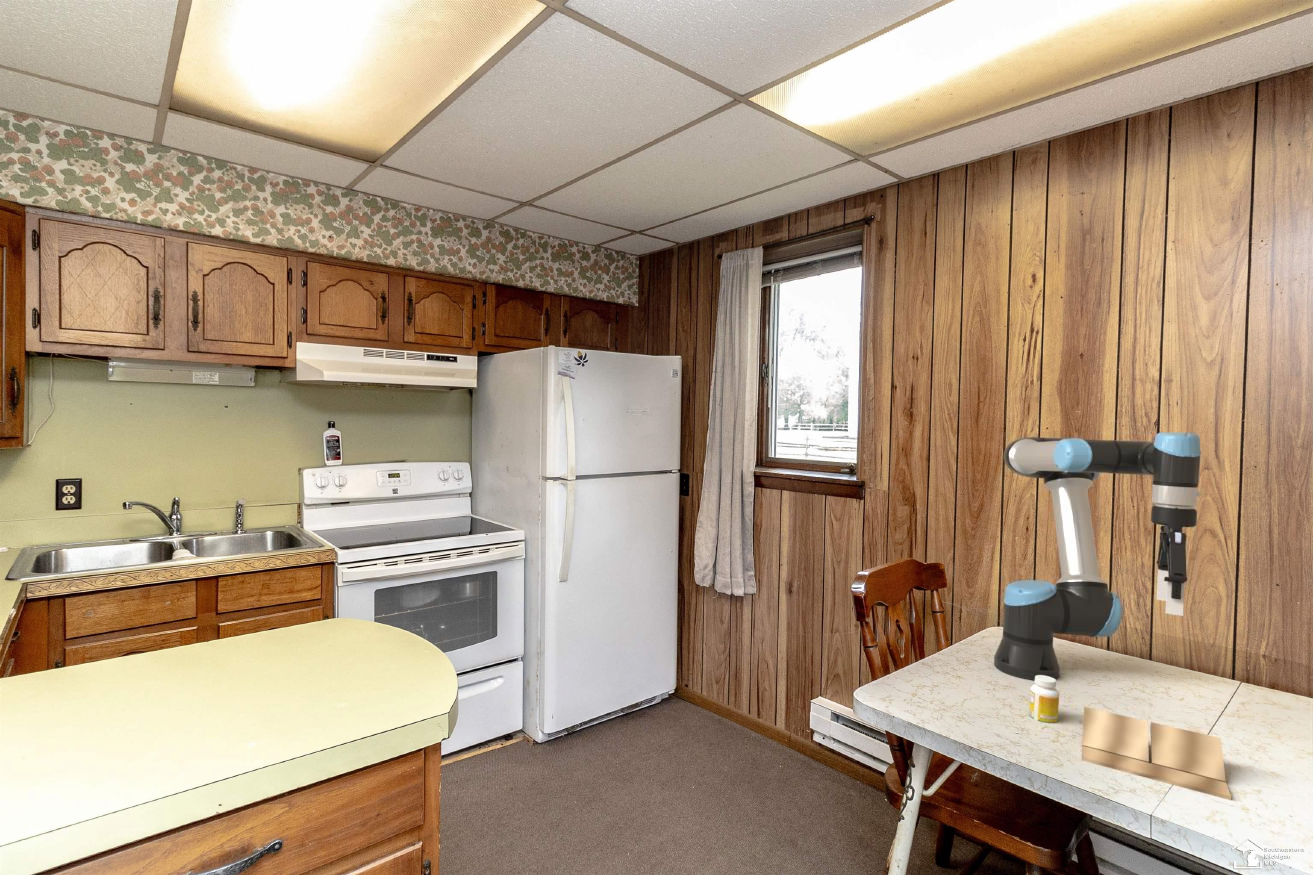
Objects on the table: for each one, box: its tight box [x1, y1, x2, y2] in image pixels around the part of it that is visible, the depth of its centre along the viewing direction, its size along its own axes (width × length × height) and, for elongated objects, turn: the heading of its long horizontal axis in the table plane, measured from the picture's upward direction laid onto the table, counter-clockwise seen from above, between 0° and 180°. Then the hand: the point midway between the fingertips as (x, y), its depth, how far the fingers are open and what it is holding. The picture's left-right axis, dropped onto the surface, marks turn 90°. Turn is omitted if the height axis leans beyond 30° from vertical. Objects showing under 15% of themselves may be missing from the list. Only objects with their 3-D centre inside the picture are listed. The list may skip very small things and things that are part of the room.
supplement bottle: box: [1028, 675, 1060, 724], centre depth 143 cm, size 5×5×10 cm
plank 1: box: [1081, 706, 1150, 763], centre depth 130 cm, size 10×9×1 cm
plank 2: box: [1149, 721, 1227, 783], centre depth 123 cm, size 10×9×1 cm
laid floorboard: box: [1081, 745, 1232, 801], centre depth 121 cm, size 22×5×1 cm, turn 56°
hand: (1169, 607), depth 138 cm, fingers open, 13 cm apart
